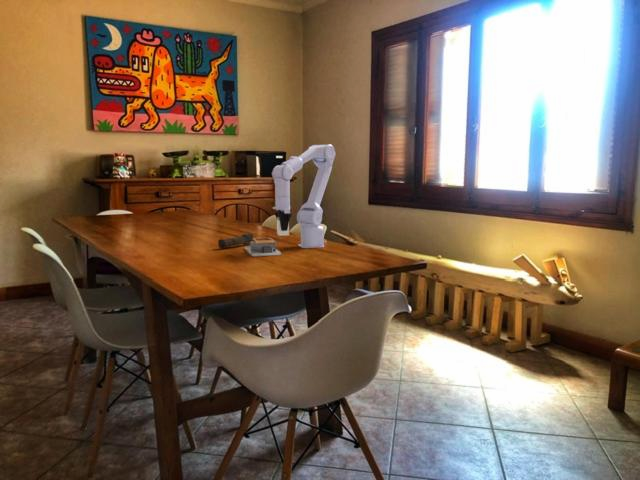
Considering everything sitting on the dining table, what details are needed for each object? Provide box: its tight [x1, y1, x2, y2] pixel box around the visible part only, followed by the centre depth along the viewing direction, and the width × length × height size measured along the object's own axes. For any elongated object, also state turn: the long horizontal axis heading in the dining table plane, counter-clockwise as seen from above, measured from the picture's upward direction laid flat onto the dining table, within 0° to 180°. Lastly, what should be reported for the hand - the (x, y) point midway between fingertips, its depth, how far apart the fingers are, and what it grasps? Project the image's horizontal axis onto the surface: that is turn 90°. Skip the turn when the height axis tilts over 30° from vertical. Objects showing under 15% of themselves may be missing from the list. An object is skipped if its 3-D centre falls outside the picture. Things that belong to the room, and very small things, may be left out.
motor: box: [244, 237, 282, 257], centre depth 204 cm, size 11×18×5 cm, turn 18°
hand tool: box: [217, 232, 255, 249], centre depth 216 cm, size 19×4×5 cm, turn 141°
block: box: [276, 217, 290, 237], centre depth 205 cm, size 4×4×7 cm
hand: (283, 229), depth 206 cm, fingers closed on block, 4 cm apart
